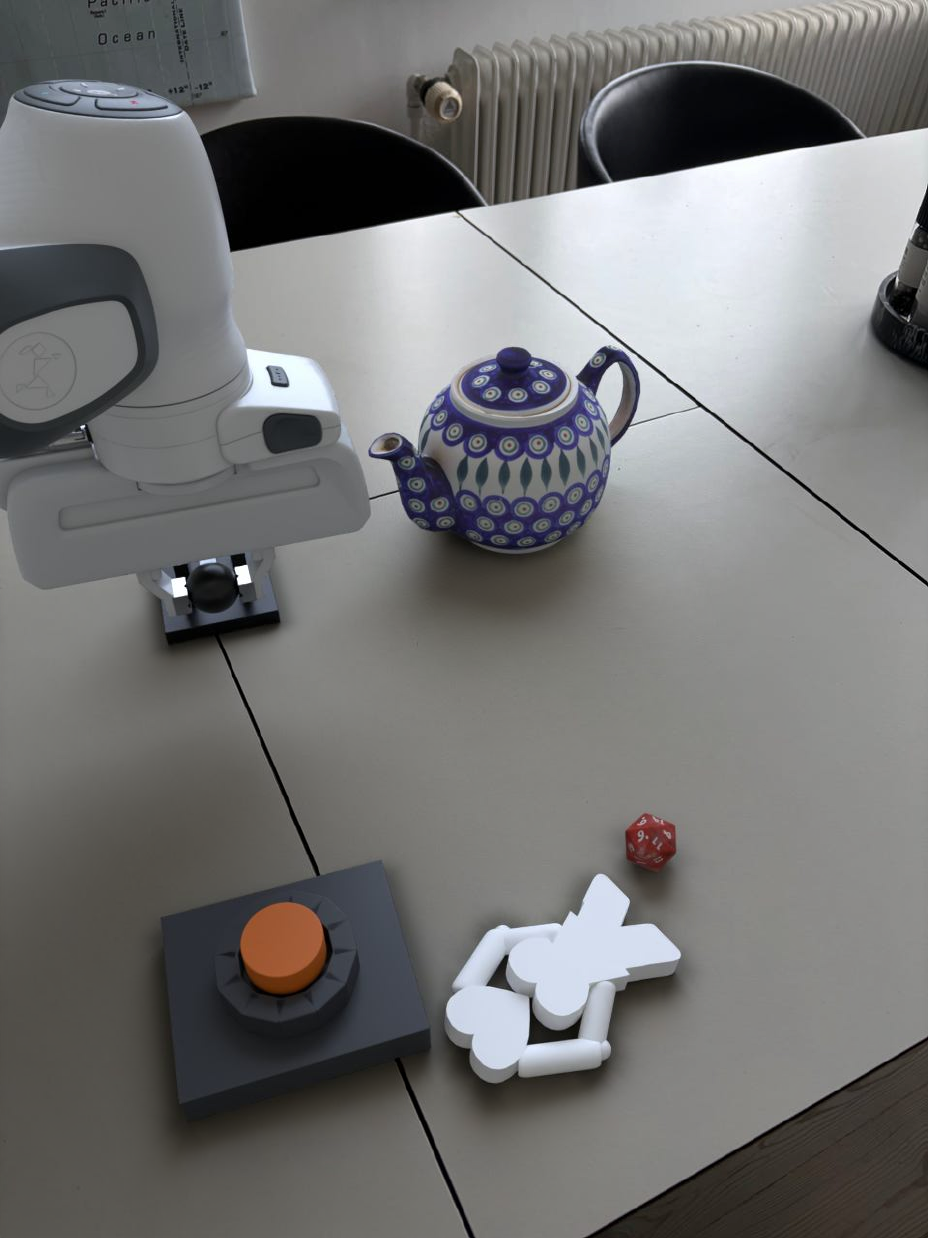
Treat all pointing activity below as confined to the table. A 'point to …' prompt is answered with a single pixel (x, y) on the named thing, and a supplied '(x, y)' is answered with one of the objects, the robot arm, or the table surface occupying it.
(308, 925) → the button
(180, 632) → the bracket
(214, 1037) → the control block
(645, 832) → the die
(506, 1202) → the table surface
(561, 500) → the teapot
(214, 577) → the lever
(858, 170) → the table surface
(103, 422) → the robot arm
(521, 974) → the white abstract figurine
